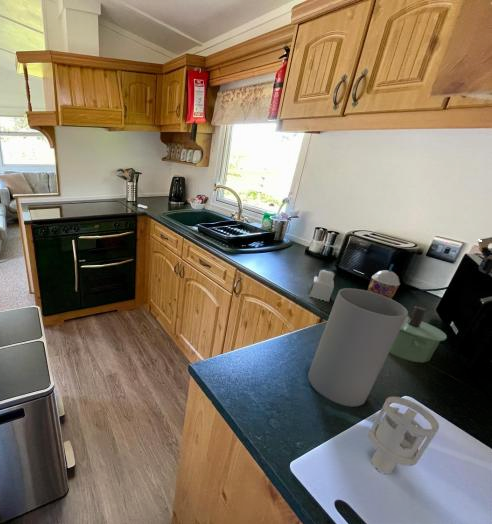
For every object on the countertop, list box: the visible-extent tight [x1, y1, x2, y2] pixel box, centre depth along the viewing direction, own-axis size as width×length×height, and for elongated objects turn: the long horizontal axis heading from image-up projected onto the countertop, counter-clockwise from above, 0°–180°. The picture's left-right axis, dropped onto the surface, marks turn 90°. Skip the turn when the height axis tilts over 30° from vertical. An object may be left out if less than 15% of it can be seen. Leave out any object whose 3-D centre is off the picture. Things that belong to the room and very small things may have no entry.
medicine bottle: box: [308, 267, 337, 303], centre depth 119 cm, size 7×7×12 cm
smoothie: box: [366, 263, 401, 300], centre depth 108 cm, size 8×8×20 cm
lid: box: [400, 305, 448, 342], centre depth 85 cm, size 15×15×7 cm
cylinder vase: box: [307, 287, 409, 408], centre depth 68 cm, size 12×12×25 cm
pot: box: [389, 330, 441, 363], centre depth 89 cm, size 14×19×8 cm
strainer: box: [368, 396, 440, 475], centre depth 52 cm, size 7×7×15 cm
